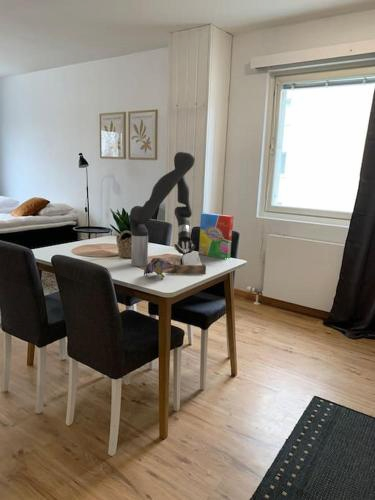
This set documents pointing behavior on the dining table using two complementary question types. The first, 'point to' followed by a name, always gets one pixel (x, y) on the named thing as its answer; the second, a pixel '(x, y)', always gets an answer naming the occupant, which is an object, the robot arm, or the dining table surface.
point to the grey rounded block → (190, 259)
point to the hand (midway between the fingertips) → (185, 259)
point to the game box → (215, 235)
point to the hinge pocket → (189, 269)
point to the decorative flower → (157, 266)
